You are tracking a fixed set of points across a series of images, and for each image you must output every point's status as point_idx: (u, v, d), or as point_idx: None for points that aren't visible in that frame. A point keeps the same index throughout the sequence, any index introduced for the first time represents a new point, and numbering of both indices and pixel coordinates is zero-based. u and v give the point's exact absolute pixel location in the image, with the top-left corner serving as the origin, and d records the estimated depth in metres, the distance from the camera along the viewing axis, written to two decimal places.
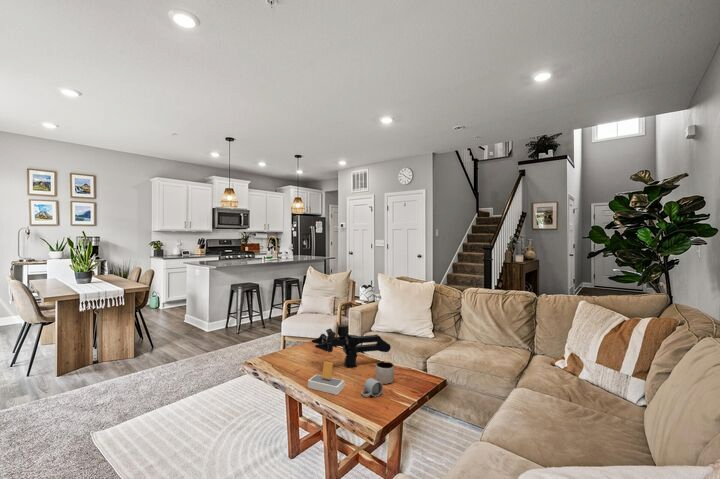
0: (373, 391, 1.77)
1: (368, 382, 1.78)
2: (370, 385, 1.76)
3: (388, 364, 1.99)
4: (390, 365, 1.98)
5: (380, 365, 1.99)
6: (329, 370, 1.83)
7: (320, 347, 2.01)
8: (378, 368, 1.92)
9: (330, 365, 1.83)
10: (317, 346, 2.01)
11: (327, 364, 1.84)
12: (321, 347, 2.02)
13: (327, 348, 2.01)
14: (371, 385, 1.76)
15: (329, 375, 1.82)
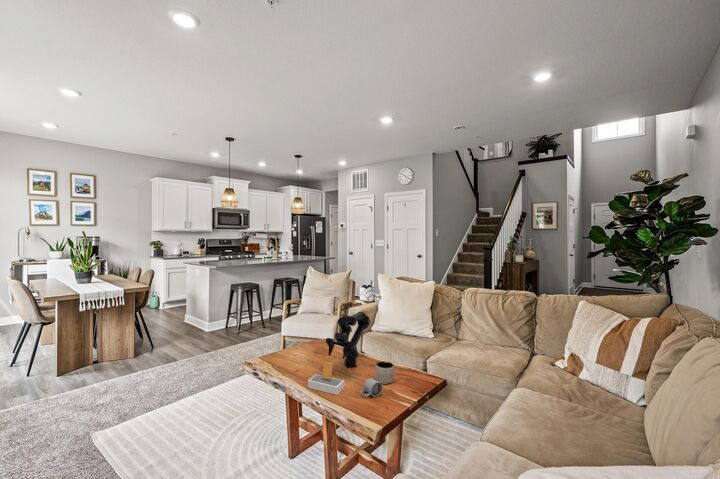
0: (373, 391, 1.76)
1: (368, 382, 1.78)
2: (370, 385, 1.76)
3: (388, 364, 1.99)
4: (390, 365, 1.98)
5: (380, 365, 1.99)
6: (329, 370, 1.83)
7: (346, 354, 1.95)
8: (378, 368, 1.92)
9: (330, 365, 1.83)
10: (344, 356, 1.94)
11: (327, 364, 1.84)
12: (347, 353, 1.95)
13: (352, 349, 1.97)
14: (370, 385, 1.75)
15: (329, 375, 1.82)
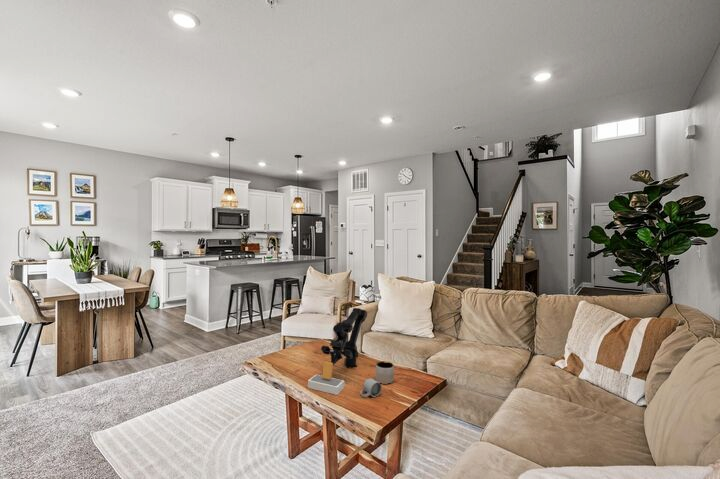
0: (372, 391, 1.76)
1: (367, 382, 1.78)
2: (369, 385, 1.76)
3: (388, 364, 1.99)
4: (390, 365, 1.98)
5: (380, 365, 1.99)
6: (329, 370, 1.83)
7: (336, 361, 1.91)
8: (378, 368, 1.92)
9: (330, 365, 1.83)
10: (333, 363, 1.90)
11: (327, 364, 1.84)
12: (336, 360, 1.91)
13: (341, 356, 1.93)
14: (370, 385, 1.75)
15: (329, 375, 1.82)
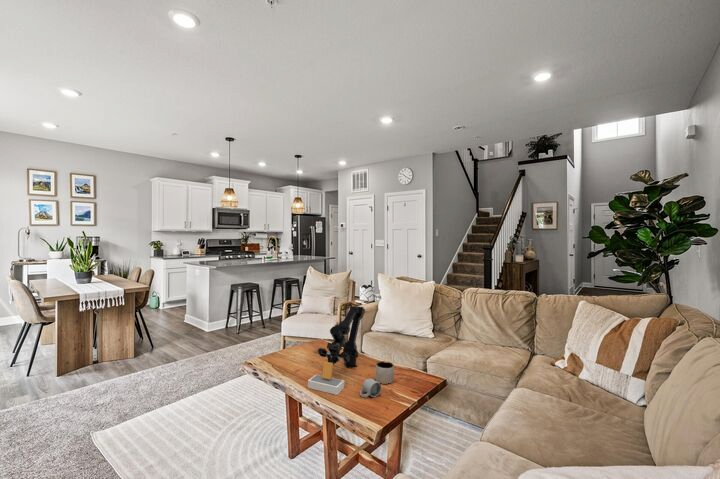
0: (371, 391, 1.76)
1: (366, 382, 1.78)
2: (368, 385, 1.75)
3: (388, 364, 1.99)
4: (390, 365, 1.98)
5: (380, 365, 1.99)
6: (329, 370, 1.83)
7: None
8: (378, 368, 1.92)
9: (330, 365, 1.83)
10: None
11: (327, 364, 1.84)
12: (333, 363, 1.87)
13: (338, 359, 1.89)
14: (369, 385, 1.75)
15: (329, 375, 1.82)
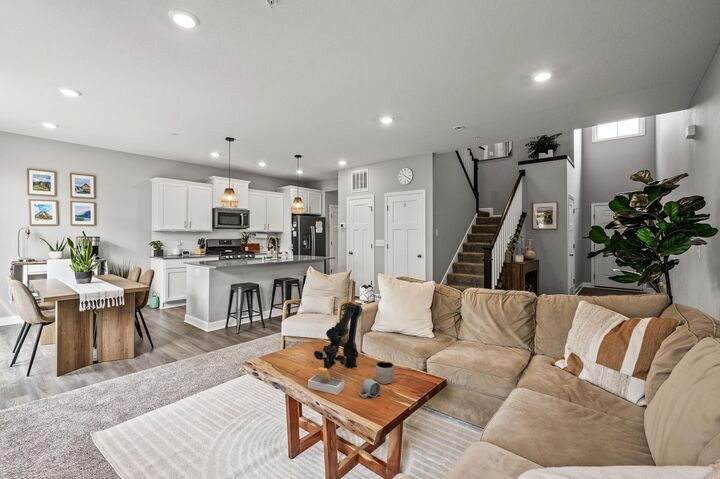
0: (371, 392, 1.76)
1: (366, 383, 1.78)
2: (368, 385, 1.75)
3: (388, 364, 1.99)
4: (390, 365, 1.98)
5: (380, 365, 1.99)
6: (326, 375, 1.79)
7: (329, 367, 1.83)
8: (378, 368, 1.92)
9: (325, 372, 1.78)
10: None
11: (322, 371, 1.78)
12: (329, 366, 1.83)
13: (335, 362, 1.85)
14: (368, 385, 1.75)
15: (327, 378, 1.80)
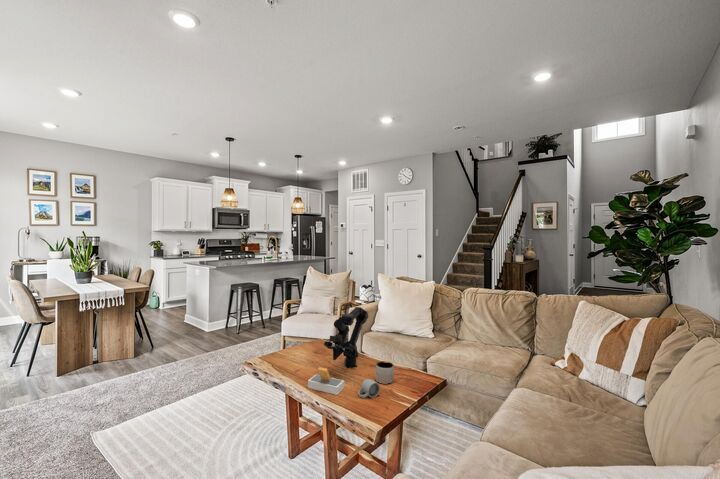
0: (370, 392, 1.75)
1: (365, 383, 1.77)
2: (367, 385, 1.75)
3: (388, 364, 1.99)
4: (390, 365, 1.98)
5: (380, 365, 1.99)
6: (326, 375, 1.79)
7: (338, 355, 1.94)
8: (378, 368, 1.92)
9: (325, 372, 1.78)
10: (336, 358, 1.93)
11: (322, 371, 1.78)
12: (338, 354, 1.94)
13: (343, 349, 1.95)
14: (368, 385, 1.75)
15: (327, 378, 1.80)
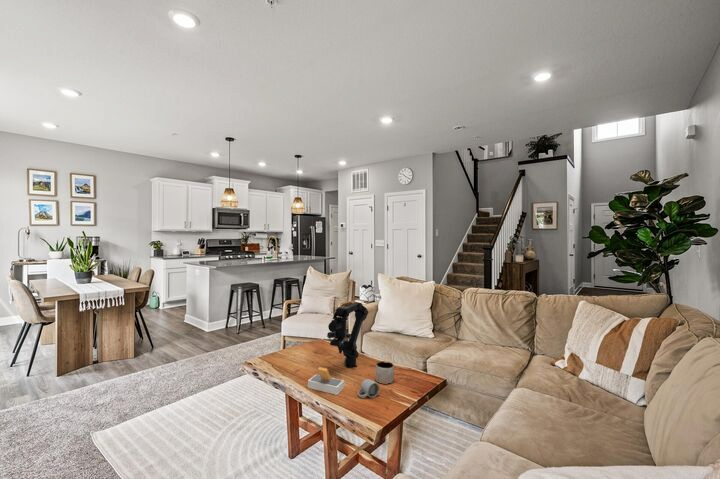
0: (369, 392, 1.75)
1: (364, 383, 1.77)
2: (366, 386, 1.75)
3: (388, 364, 1.99)
4: (390, 365, 1.98)
5: (380, 365, 1.99)
6: (326, 375, 1.79)
7: (340, 349, 2.02)
8: (378, 368, 1.92)
9: (325, 372, 1.78)
10: (340, 351, 2.03)
11: (322, 371, 1.78)
12: (340, 348, 2.02)
13: None
14: (367, 386, 1.74)
15: (327, 378, 1.80)
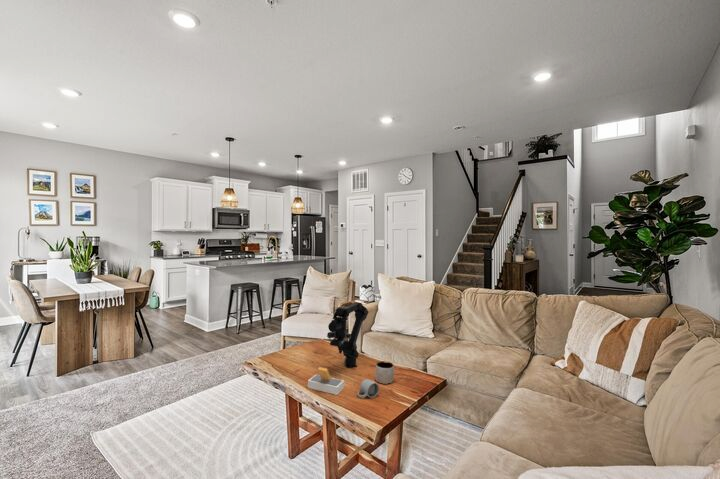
0: (369, 392, 1.75)
1: (364, 383, 1.77)
2: (366, 386, 1.75)
3: (388, 364, 1.99)
4: (390, 365, 1.98)
5: (380, 365, 1.99)
6: (326, 375, 1.79)
7: (340, 349, 2.02)
8: (378, 368, 1.92)
9: (325, 372, 1.78)
10: (340, 351, 2.03)
11: (322, 371, 1.78)
12: (340, 348, 2.02)
13: None
14: (367, 386, 1.74)
15: (327, 378, 1.80)
